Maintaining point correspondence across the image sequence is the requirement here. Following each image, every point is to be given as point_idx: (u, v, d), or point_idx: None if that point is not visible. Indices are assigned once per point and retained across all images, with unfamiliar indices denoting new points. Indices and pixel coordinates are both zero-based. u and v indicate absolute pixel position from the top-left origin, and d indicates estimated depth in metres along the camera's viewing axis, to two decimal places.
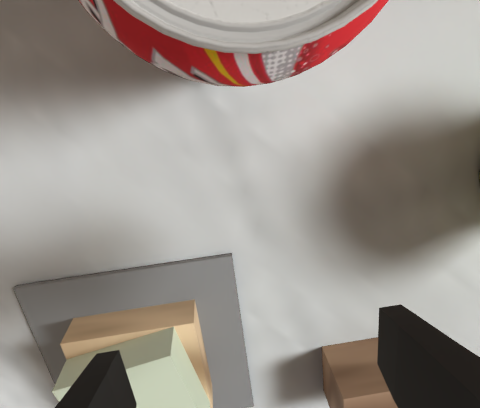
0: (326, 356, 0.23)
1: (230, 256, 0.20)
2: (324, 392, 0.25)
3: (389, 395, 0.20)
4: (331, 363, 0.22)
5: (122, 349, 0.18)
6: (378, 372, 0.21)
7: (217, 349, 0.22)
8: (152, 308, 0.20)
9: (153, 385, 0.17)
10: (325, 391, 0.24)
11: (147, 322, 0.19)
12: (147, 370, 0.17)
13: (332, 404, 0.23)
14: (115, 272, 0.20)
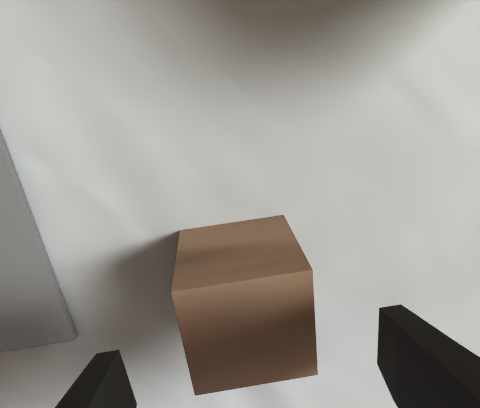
0: (179, 241, 0.13)
1: None
2: None
3: (265, 287, 0.10)
4: (181, 248, 0.12)
5: None
6: (258, 253, 0.11)
7: None
8: None
9: None
10: None
11: None
12: None
13: None
14: None
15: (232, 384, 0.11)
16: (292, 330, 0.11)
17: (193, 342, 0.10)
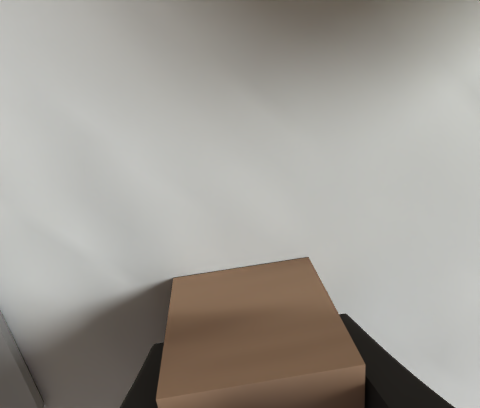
0: (172, 297, 0.09)
1: None
2: None
3: (296, 388, 0.07)
4: (174, 311, 0.09)
5: None
6: (281, 327, 0.08)
7: None
8: None
9: None
10: None
11: None
12: None
13: None
14: None
15: None
16: None
17: None
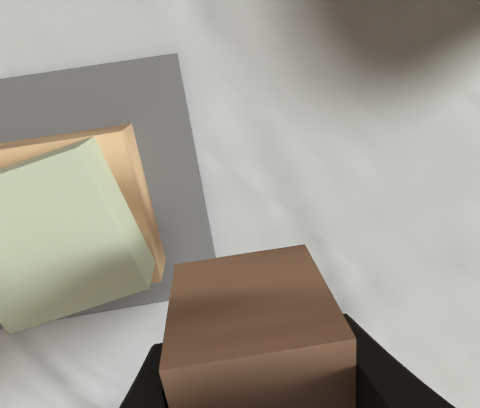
0: (173, 282, 0.10)
1: (174, 54, 0.15)
2: None
3: (291, 361, 0.07)
4: (176, 293, 0.09)
5: (21, 162, 0.13)
6: (277, 307, 0.08)
7: (168, 203, 0.17)
8: (74, 132, 0.15)
9: (59, 200, 0.12)
10: None
11: (61, 138, 0.14)
12: (45, 173, 0.12)
13: None
14: (19, 76, 0.14)
15: None
16: None
17: None
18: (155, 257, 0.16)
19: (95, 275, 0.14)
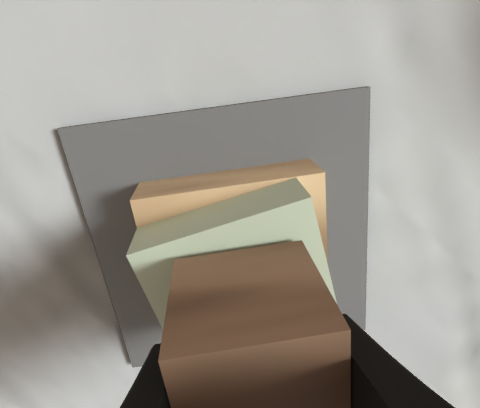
0: (173, 276, 0.10)
1: (367, 88, 0.14)
2: None
3: (287, 352, 0.07)
4: (175, 287, 0.09)
5: (224, 206, 0.12)
6: (274, 300, 0.08)
7: (330, 240, 0.16)
8: (252, 168, 0.14)
9: None
10: None
11: (253, 177, 0.13)
12: (273, 223, 0.11)
13: None
14: (203, 108, 0.14)
15: None
16: (321, 404, 0.08)
17: None
18: None
19: None
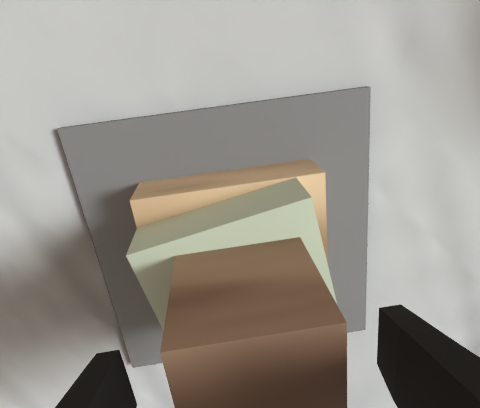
0: (174, 272, 0.10)
1: (367, 88, 0.14)
2: None
3: (285, 344, 0.08)
4: (176, 282, 0.10)
5: (224, 206, 0.12)
6: (273, 295, 0.09)
7: (330, 240, 0.16)
8: (252, 168, 0.14)
9: None
10: None
11: (253, 177, 0.13)
12: (273, 223, 0.11)
13: None
14: (203, 109, 0.13)
15: None
16: (317, 395, 0.08)
17: None
18: None
19: None
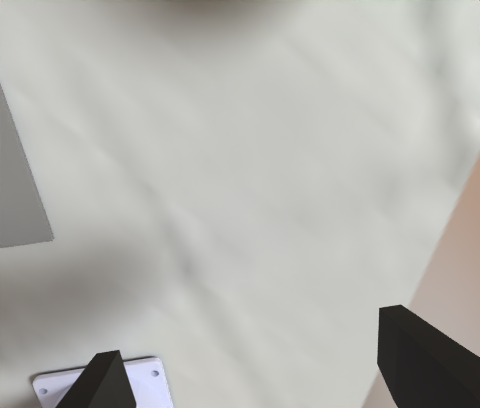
0: None
1: None
2: None
3: None
4: None
5: None
6: None
7: None
8: None
9: None
10: None
11: None
12: None
13: None
14: None
15: None
16: None
17: None
18: None
19: None
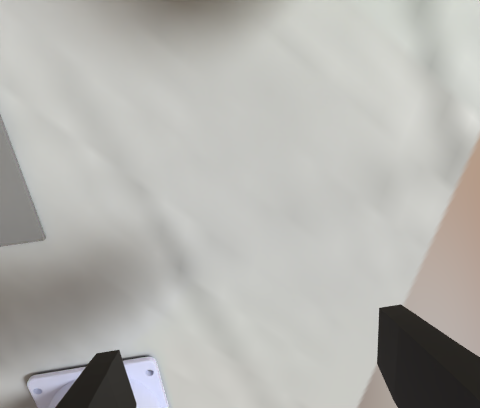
0: None
1: None
2: None
3: None
4: None
5: None
6: None
7: None
8: None
9: None
10: None
11: None
12: None
13: None
14: None
15: None
16: None
17: None
18: None
19: None
